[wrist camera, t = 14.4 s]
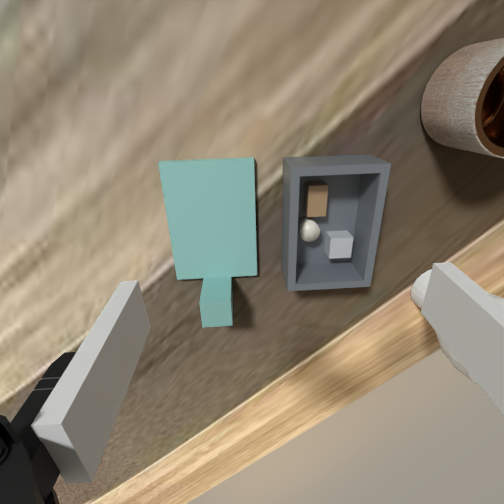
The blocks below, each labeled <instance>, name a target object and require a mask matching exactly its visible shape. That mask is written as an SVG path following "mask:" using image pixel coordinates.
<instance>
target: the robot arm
mask: <svg viewBox="0 0 504 504" xmlns="http://www.w3.org/2000/svg"><path fill="white" fill-rule="evenodd" d="M421 313H422V315H423V316H424V317H425V318H426V320H427V321H428V322H429V323H430V325H431V326H432V327H433V328H434V330H435V331H436V332H437V333H438V335H439V336H440V337H441V338H442V340H443V341H444V342H445V343H446V345H447V346H448V347H449V348H450V350H451V351H452V352H453V353H454V355H455V356H456V357H457V358H458V360H459V361H460V362H461V363H462V365H463V366H464V367H465V368H466V370H467V371H468V372H469V373H470V375H471V376H472V377H473V378H474V380H475V381H476V382H477V383H478V385H480V387H481V388H482V389H483V391H484V392H485V393H486V394H487V396H488V397H489V398H490V399H491V401H492V402H493V403H494V404H495V406H496V407H497V408H498V409H499V411H500V412H501V413H502V414H503V416H504V306H503V305H501V304H500V303H499V302H498V301H497V300H495V299H494V298H493V297H492V296H491V295H489V294H488V293H487V292H486V291H485V290H483V289H482V288H481V287H480V286H479V285H477V284H476V283H475V282H474V281H473V280H471V279H470V278H469V277H468V276H467V275H465V274H464V273H463V272H462V271H460V270H459V269H458V268H457V267H456V266H454V265H453V264H452V263H451V262H448V263H433V267H432V271H431V275H430V279H429V283H428V286H427V290H426V294H425V298H424V302H423V306H422V310H421ZM150 329H151V328H150V324H149V320H148V316H147V312H146V309H145V305H144V301H143V297H142V293H141V289H140V286H139V282H138V280H137V281H121V282H120V284H119V285H118V287H117V288H116V290H115V292H114V293H113V295H112V296H111V298H110V300H109V301H108V303H107V304H106V306H105V308H104V309H103V311H102V312H101V314H100V316H99V317H98V319H97V320H96V322H95V324H94V325H93V327H92V328H91V330H90V332H89V333H88V335H87V336H86V338H85V340H84V341H83V343H82V344H81V346H80V348H79V349H78V351H77V352H68V353H64V354H62V355H61V356H60V357H59V358H58V359H57V360H55V361H54V362H53V363H52V364H51V365H50V367H49V368H48V369H47V371H46V372H45V374H44V375H43V377H42V380H40V381H39V382H38V384H37V385H36V387H35V388H34V391H32V393H31V394H30V395H29V397H28V398H27V400H26V401H25V403H24V404H23V406H22V407H21V408H20V410H19V411H18V413H17V414H16V416H15V417H14V419H13V420H12V422H11V423H10V422H9V421H8V420H7V418H6V417H5V416H2V415H0V504H59V501H58V498H57V494H56V492H55V490H54V489H53V487H54V484H55V482H56V480H57V478H58V476H59V474H61V476H62V477H63V479H64V481H65V482H66V484H71V483H87V482H93V479H94V477H95V474H96V471H97V469H98V466H99V464H100V461H101V458H102V456H103V453H104V450H105V448H106V445H107V442H108V440H109V437H110V434H111V432H112V429H113V427H114V424H115V421H116V419H117V416H118V413H119V411H120V408H121V405H122V403H123V400H124V397H125V395H126V392H127V390H128V387H129V384H130V382H131V379H132V376H133V374H134V371H135V368H136V366H137V363H138V360H139V358H140V355H141V353H142V350H143V347H144V345H145V342H146V339H147V337H148V334H149V331H150Z"/></svg>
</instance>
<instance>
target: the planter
mask: <svg viewBox="0 0 504 504" xmlns="http://www.w3.org/2000/svg"><path fill="white" fill-rule="evenodd" d="M421 119H422V123H423V126H424V129H425V130H426V132H427V134H428V135H429V136H430V137H431V138H432V139H433V140H434V141H436V142H438V143H440V144H441V145H444V146H447V147H452V148H457V149H461V150H466V151H471V152H476V153H481V154H485V155H490V156H494V157H499V158H504V38H501V39H495V40H490V41H485V42H480V43H475V44H472V45H469V46H466V47H464V48H462V49H460V50H458V51H456V52H454V53H453V54H452V55H450V56H449V57H448V58H446V59H445V60H444V61H443V62H442V63H441V64H440V65H439V66H438V68H437V69H436V70H435V72H434V73H433V74H432V76H431V78H430V79H429V81H428V83H427V85H426V88H425V90H424V93H423V97H422V102H421Z"/></svg>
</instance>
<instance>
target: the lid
mask: <svg viewBox="0 0 504 504" xmlns="http://www.w3.org/2000/svg"><path fill="white" fill-rule="evenodd" d="M158 164H159V170H160V176H161V183H162V189H163V195H164V201H165V207H166V213H167V220H168V226H169V232H170V238H171V244H172V250H173V257H174V263H175V269H176V275H177V280H180V279H199V278H204V279H203V285H202V291H201V296H200V302H199V303H200V311H201V319H202V326H203V327H216V326H233V292H232V278H231V277H237V276H256V275H257V250H256V213H255V175H254V157H244V158H219V159H195V160H170V161H159V162H158Z"/></svg>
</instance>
